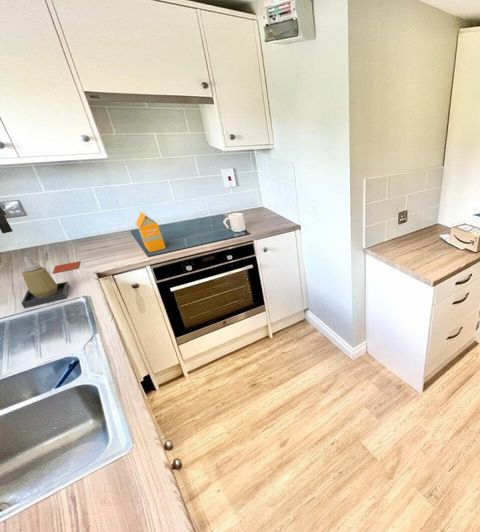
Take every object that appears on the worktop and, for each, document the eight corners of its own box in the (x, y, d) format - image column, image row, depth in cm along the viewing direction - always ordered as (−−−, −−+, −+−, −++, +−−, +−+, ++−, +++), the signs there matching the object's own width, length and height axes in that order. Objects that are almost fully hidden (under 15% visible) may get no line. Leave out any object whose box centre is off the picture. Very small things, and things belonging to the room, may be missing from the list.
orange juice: (161, 243, 184) (149, 210, 175) (166, 248, 179) (154, 213, 170) (144, 247, 179) (132, 213, 170) (149, 252, 174) (136, 217, 165)
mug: (244, 226, 212) (241, 212, 208) (246, 230, 206) (243, 215, 201) (224, 229, 207) (221, 214, 202) (226, 233, 200) (222, 218, 196)
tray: (24, 308, 126) (21, 303, 125) (30, 294, 135) (27, 289, 134) (66, 298, 133) (63, 293, 132) (69, 286, 142) (67, 281, 141)
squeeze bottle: (41, 302, 129) (18, 263, 121) (29, 298, 132) (5, 259, 123) (65, 293, 136) (45, 254, 128) (54, 289, 138) (33, 251, 130)
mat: (52, 273, 151) (52, 273, 151) (55, 266, 157) (55, 265, 157) (78, 268, 156) (78, 268, 156) (80, 261, 162) (79, 261, 162)
